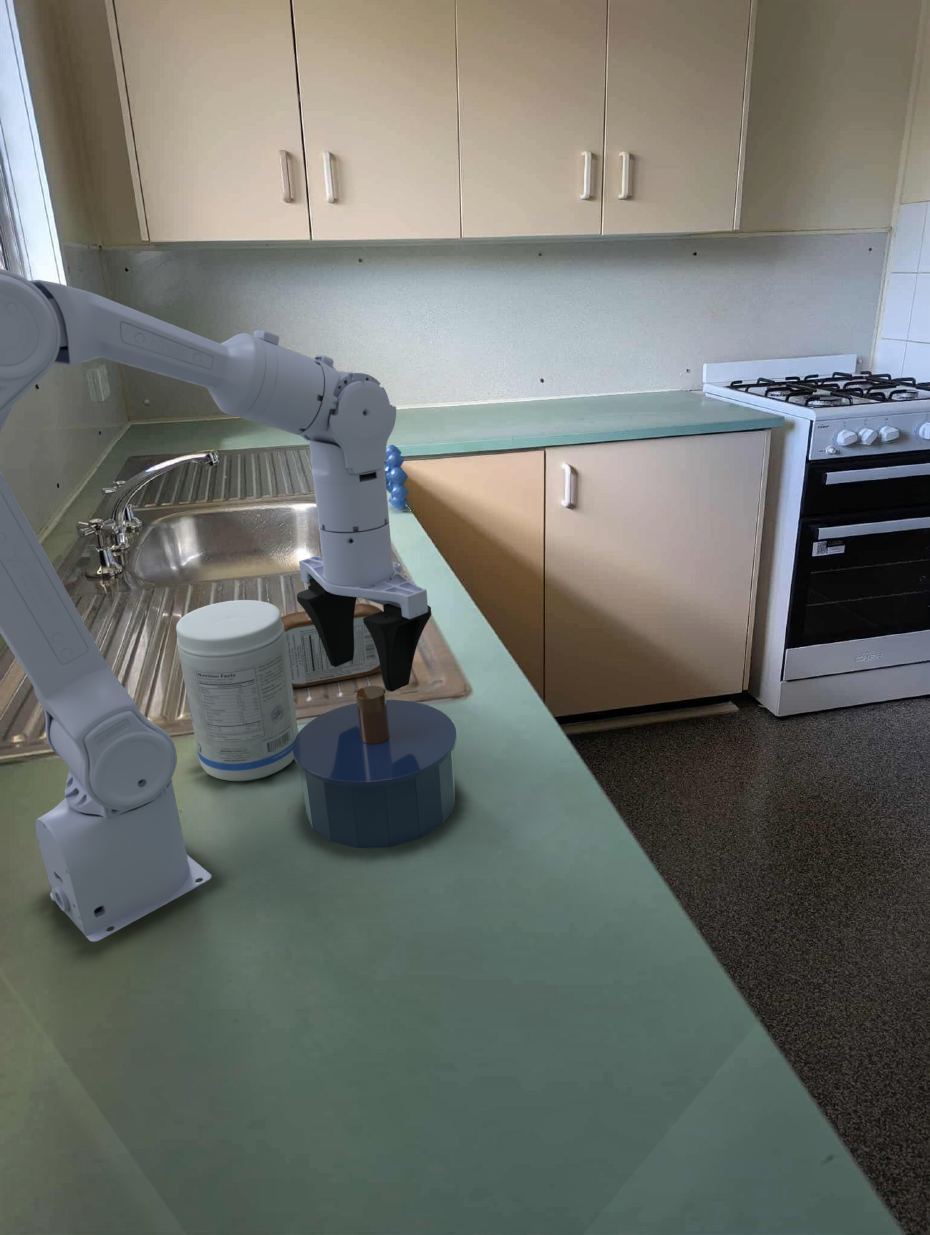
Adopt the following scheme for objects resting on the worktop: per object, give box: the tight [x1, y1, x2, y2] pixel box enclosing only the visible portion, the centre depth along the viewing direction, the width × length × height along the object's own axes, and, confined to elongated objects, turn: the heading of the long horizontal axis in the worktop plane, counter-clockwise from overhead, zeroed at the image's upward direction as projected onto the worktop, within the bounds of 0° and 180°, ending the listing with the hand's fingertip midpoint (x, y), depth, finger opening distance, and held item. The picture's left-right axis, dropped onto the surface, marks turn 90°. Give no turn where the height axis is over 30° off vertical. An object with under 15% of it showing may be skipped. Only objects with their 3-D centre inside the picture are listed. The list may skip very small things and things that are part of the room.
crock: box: [299, 751, 456, 849], centre depth 74 cm, size 13×13×6 cm
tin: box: [281, 602, 383, 688], centre depth 98 cm, size 15×3×8 cm, turn 109°
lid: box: [293, 685, 458, 787], centre depth 72 cm, size 14×14×5 cm
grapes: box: [384, 444, 410, 511], centre depth 168 cm, size 12×7×12 cm, turn 13°
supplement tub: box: [175, 599, 299, 782], centre depth 81 cm, size 10×10×15 cm
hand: (369, 674), depth 76 cm, fingers open, 7 cm apart
